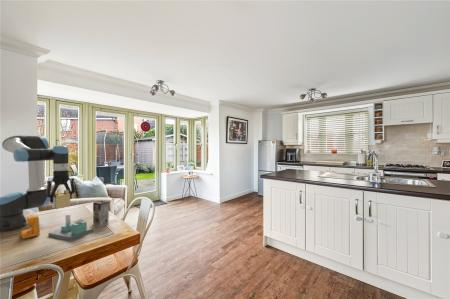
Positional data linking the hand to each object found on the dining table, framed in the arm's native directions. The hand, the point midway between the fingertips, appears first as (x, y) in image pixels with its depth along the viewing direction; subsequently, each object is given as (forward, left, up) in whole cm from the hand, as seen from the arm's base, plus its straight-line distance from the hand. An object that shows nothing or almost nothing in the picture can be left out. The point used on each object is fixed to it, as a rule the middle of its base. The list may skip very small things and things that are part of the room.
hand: (61, 205), depth 125 cm
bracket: (-19, -6, -19) cm, 28 cm away
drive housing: (+3, +4, -19) cm, 20 cm away
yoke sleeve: (0, 0, 0) cm, 0 cm away
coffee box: (+7, +22, -19) cm, 30 cm away
